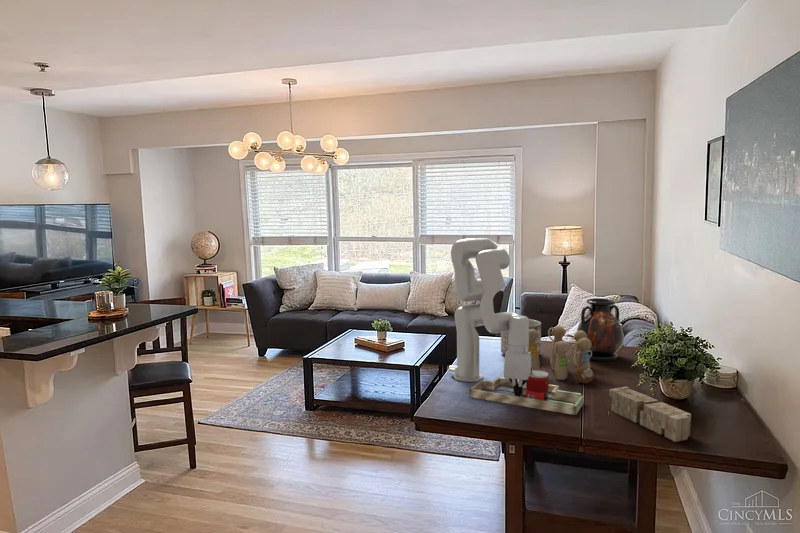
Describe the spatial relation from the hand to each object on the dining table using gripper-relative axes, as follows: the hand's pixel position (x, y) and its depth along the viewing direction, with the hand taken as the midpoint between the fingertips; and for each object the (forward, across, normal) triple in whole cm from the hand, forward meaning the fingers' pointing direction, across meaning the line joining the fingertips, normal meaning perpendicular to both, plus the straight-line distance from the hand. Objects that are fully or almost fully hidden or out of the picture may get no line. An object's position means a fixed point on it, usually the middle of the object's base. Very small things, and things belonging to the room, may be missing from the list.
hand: (518, 395), depth 203 cm
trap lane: (+1, +3, +4) cm, 5 cm away
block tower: (+2, +46, -2) cm, 46 cm away
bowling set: (+2, +5, +41) cm, 42 cm away
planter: (+2, -18, +61) cm, 64 cm away
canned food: (+2, +7, 0) cm, 7 cm away
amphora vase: (+2, +17, +75) cm, 77 cm away
